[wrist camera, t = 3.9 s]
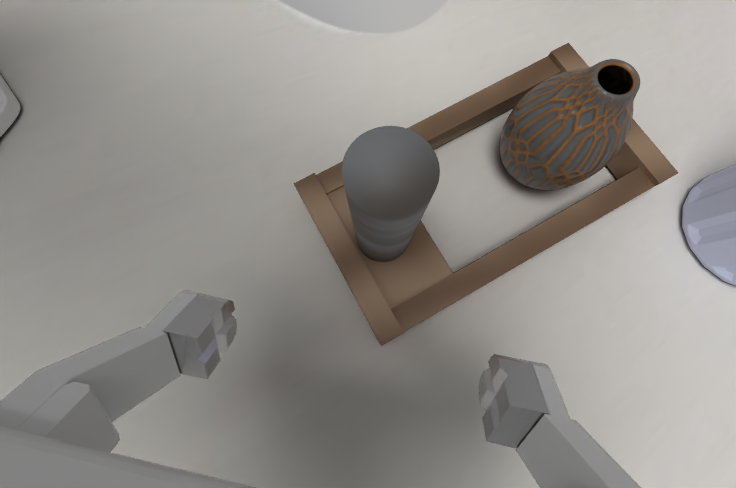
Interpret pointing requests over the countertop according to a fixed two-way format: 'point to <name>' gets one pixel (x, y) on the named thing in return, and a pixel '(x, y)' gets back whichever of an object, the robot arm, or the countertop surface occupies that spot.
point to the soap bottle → (713, 223)
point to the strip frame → (414, 191)
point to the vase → (570, 125)
